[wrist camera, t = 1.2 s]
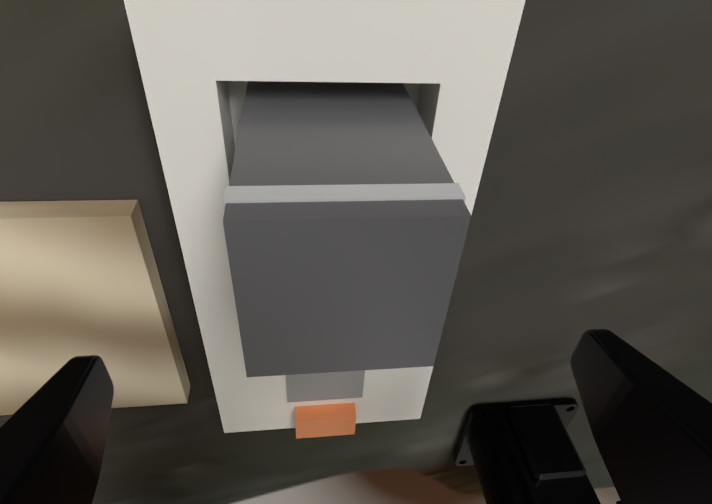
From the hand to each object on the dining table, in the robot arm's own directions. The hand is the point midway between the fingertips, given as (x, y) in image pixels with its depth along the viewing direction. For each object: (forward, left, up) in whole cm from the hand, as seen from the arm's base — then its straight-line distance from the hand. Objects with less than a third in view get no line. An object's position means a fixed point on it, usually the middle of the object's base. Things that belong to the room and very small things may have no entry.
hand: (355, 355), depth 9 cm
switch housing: (-4, 0, -9) cm, 10 cm away
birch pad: (-8, +12, -9) cm, 17 cm away
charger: (0, 0, -8) cm, 8 cm away
